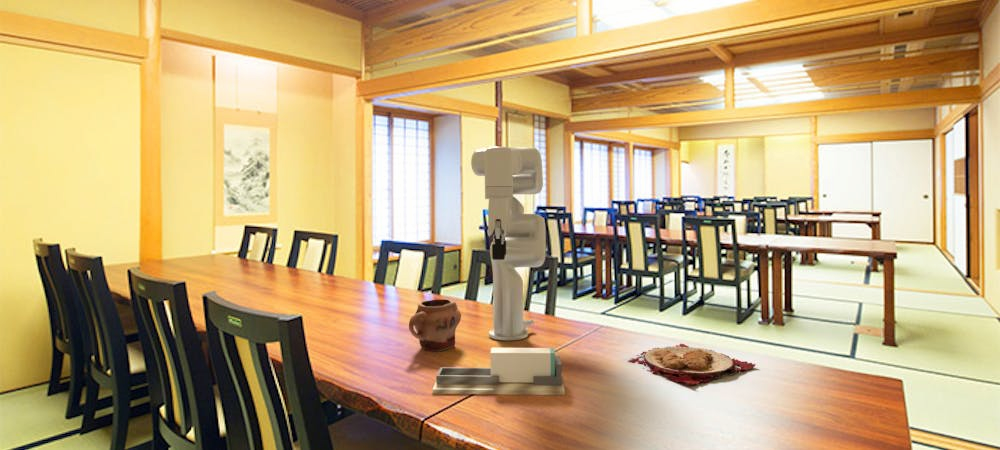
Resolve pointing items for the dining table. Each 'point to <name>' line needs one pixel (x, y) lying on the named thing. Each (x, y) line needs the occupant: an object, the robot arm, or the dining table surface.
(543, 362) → the white teal block
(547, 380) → the socket
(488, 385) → the base
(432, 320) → the brown clay mug
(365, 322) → the dining table surface
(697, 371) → the plate with food
